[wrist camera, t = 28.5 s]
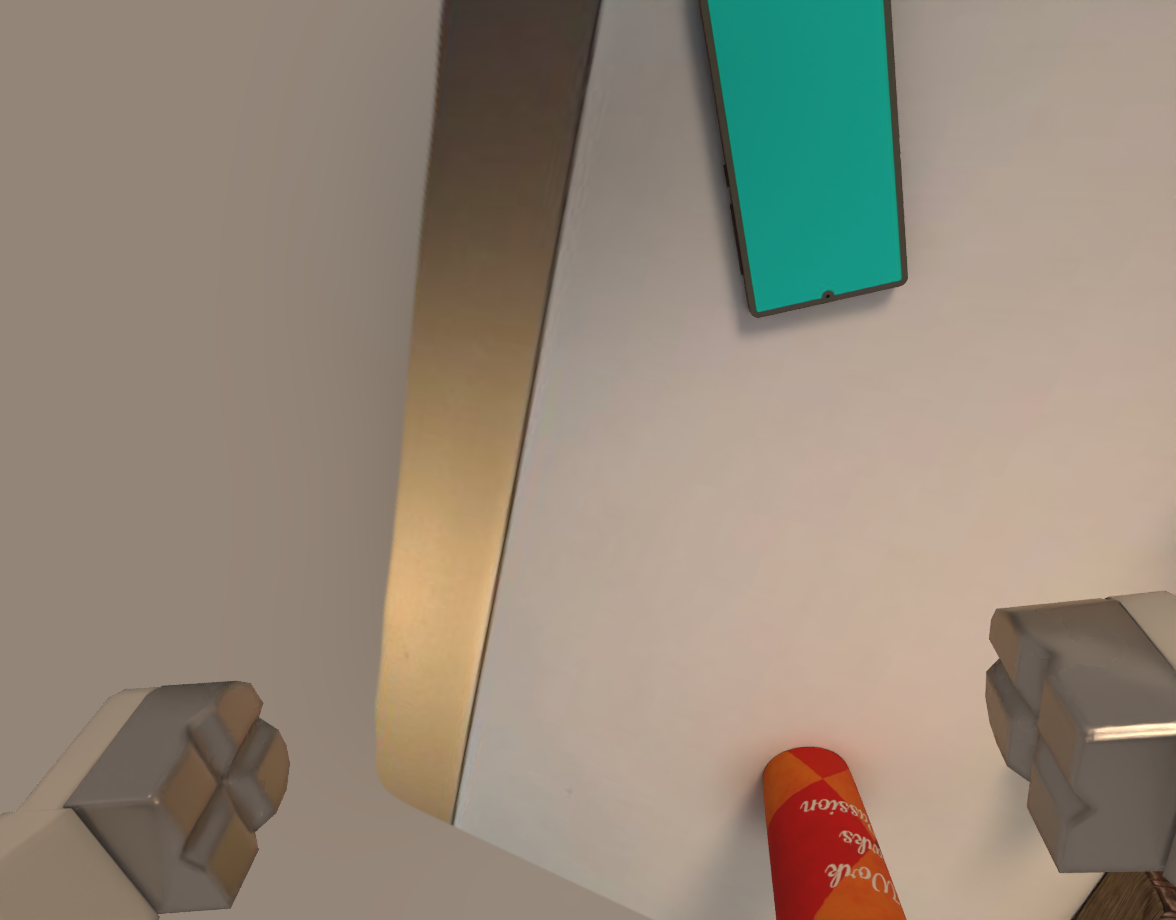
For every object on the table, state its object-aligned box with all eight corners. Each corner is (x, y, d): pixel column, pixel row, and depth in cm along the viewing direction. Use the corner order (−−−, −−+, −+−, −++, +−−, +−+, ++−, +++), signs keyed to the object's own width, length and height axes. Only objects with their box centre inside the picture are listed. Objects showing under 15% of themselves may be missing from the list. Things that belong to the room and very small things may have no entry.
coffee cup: (890, 783, 52) (976, 1029, 39) (791, 830, 55) (839, 1074, 42) (821, 715, 50) (888, 954, 37) (720, 768, 53) (749, 1008, 39)
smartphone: (884, -100, 28) (908, 284, 35) (878, -96, 29) (902, 279, 36) (691, -41, 30) (749, 320, 36) (689, -38, 30) (747, 314, 37)
